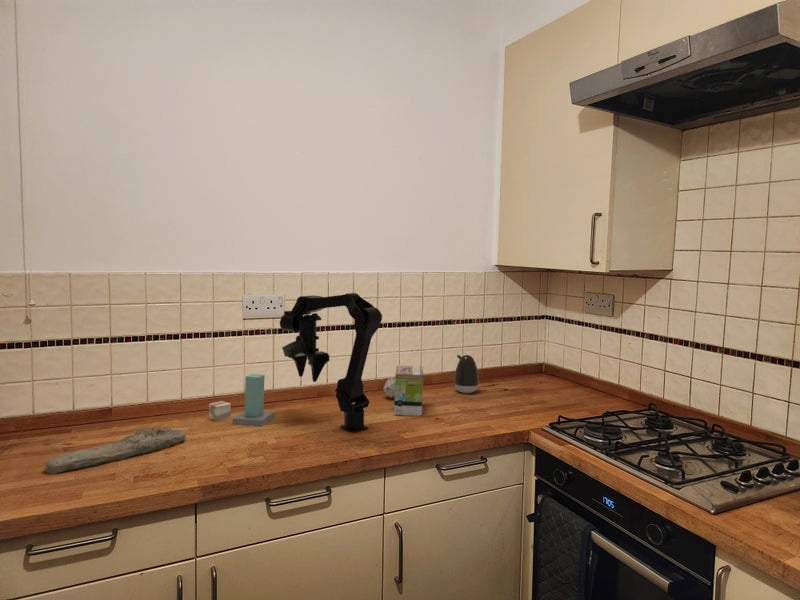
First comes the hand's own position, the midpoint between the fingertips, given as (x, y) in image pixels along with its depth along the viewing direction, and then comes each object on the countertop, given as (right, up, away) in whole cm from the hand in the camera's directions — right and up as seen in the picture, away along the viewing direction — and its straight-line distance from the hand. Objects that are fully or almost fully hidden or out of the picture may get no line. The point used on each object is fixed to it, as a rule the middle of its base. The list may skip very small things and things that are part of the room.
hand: (307, 379), depth 178 cm
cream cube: (-29, -13, -2) cm, 32 cm away
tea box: (+34, -13, +11) cm, 38 cm away
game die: (+29, -12, +26) cm, 40 cm away
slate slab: (-17, -14, -4) cm, 22 cm away
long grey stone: (-45, -16, -34) cm, 59 cm away
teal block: (-17, -11, -4) cm, 21 cm away
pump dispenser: (+58, -11, +37) cm, 70 cm away
